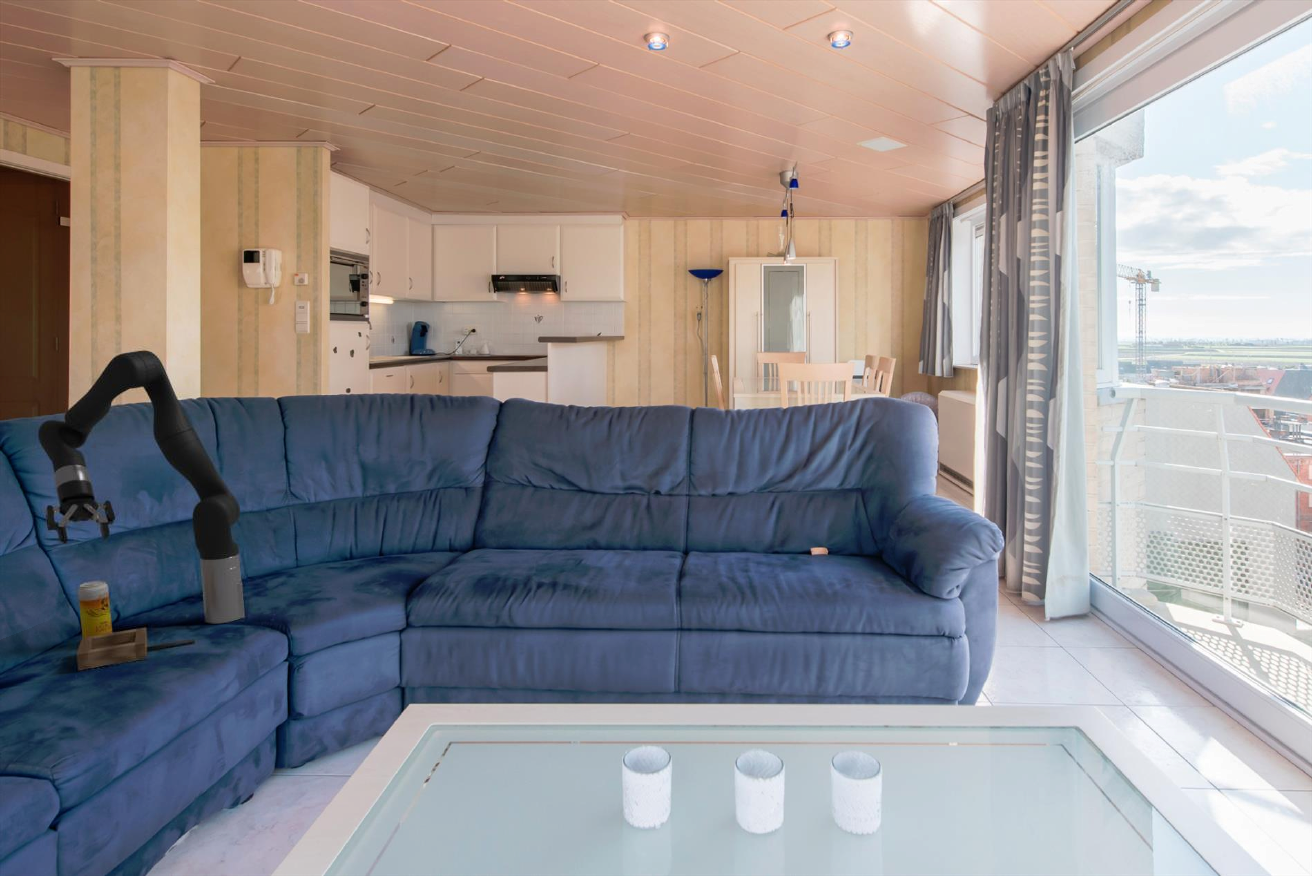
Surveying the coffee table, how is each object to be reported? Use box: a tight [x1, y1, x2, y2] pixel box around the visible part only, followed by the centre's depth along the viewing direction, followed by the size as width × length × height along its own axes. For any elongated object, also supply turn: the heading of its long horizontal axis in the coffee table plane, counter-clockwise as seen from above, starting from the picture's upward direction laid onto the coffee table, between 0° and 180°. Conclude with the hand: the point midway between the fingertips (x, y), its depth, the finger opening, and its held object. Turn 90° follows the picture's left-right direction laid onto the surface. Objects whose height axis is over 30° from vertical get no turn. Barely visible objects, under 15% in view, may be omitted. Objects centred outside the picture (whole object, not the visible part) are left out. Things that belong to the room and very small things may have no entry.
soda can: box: [77, 580, 113, 638], centre depth 201 cm, size 6×6×15 cm
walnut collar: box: [76, 627, 196, 671], centre depth 195 cm, size 23×13×4 cm, turn 121°
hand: (85, 540), depth 208 cm, fingers open, 8 cm apart
